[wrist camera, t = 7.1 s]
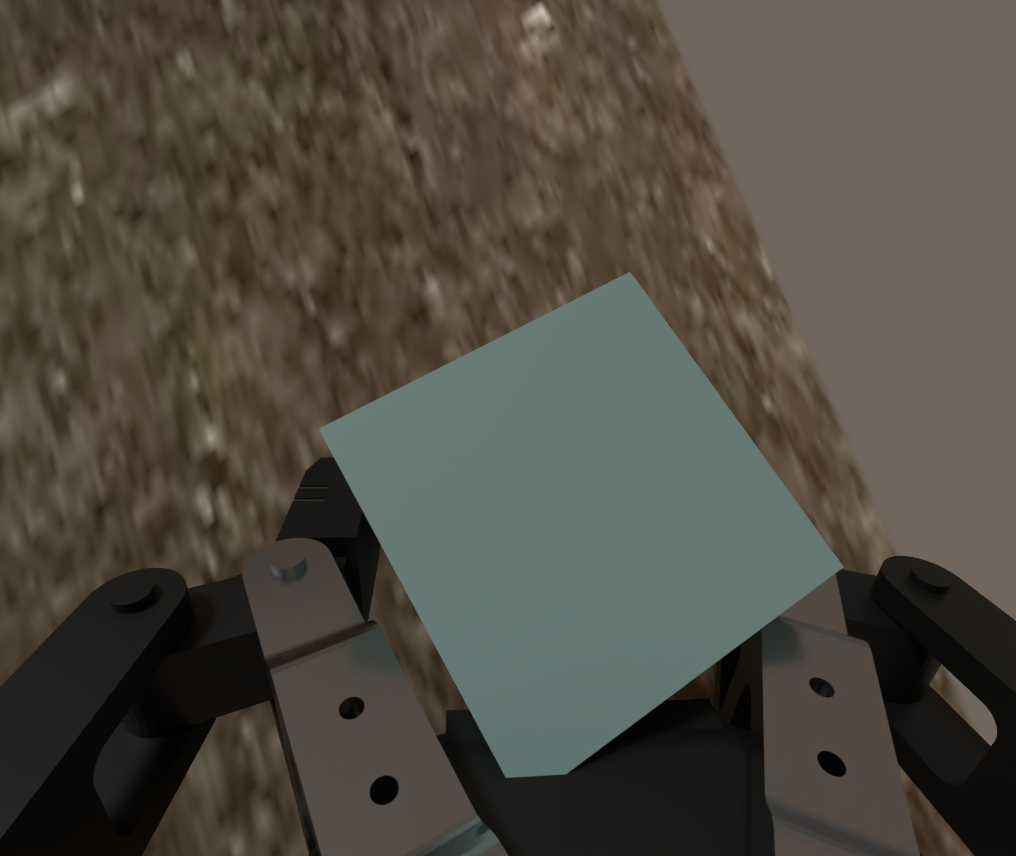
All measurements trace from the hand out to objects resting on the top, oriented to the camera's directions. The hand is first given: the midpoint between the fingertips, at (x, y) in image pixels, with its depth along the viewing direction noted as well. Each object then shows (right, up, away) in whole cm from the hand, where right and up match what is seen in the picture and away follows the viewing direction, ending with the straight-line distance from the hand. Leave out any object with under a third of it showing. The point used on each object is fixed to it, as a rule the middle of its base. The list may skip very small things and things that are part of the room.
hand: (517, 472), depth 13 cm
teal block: (0, -3, +4) cm, 5 cm away
